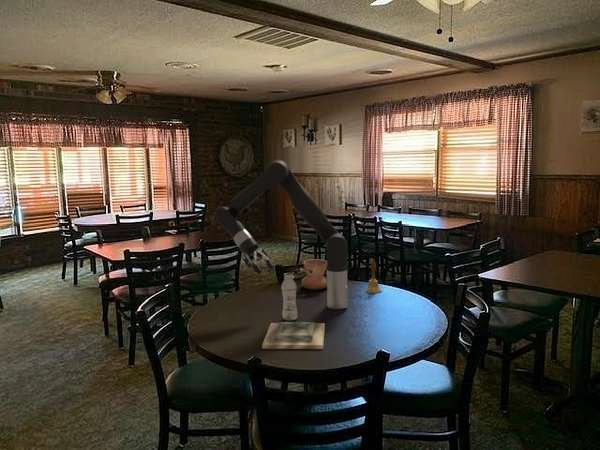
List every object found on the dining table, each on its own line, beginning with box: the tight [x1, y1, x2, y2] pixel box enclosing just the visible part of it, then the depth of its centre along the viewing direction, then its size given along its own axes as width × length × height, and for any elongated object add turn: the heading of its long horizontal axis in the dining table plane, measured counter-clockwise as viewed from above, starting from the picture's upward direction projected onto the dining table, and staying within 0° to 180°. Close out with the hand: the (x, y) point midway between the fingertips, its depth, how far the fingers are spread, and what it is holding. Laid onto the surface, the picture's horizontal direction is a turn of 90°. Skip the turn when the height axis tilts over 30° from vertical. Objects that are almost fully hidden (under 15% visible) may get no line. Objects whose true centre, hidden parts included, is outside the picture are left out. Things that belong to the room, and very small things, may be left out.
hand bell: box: [364, 259, 383, 294], centre depth 238 cm, size 8×8×16 cm
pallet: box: [261, 321, 326, 350], centre depth 182 cm, size 22×22×4 cm
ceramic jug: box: [299, 258, 327, 291], centre depth 247 cm, size 18×14×14 cm
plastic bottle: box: [281, 272, 298, 322], centre depth 200 cm, size 6×7×20 cm
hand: (266, 270), depth 205 cm, fingers open, 8 cm apart
